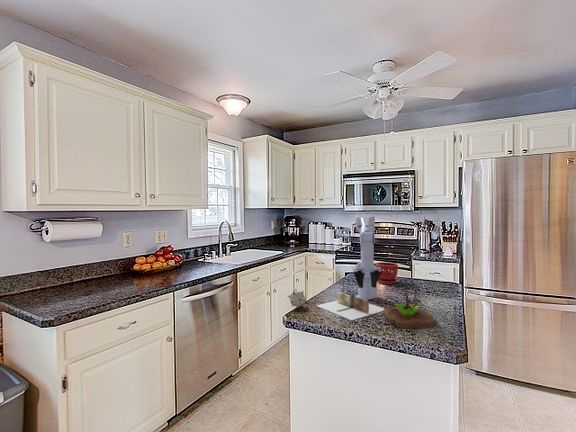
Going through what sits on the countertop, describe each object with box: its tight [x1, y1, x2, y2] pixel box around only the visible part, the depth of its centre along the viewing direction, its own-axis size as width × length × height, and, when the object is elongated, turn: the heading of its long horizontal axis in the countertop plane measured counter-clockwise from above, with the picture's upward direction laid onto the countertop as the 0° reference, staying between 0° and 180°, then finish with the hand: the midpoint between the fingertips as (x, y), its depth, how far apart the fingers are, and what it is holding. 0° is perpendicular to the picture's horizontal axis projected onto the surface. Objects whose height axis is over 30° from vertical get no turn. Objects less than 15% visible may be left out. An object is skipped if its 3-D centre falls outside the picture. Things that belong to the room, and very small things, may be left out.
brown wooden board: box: [354, 296, 370, 313], centre depth 140 cm, size 8×1×5 cm, turn 35°
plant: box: [382, 291, 437, 329], centre depth 131 cm, size 20×20×11 cm
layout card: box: [315, 299, 385, 322], centre depth 145 cm, size 23×23×1 cm
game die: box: [287, 288, 309, 310], centre depth 146 cm, size 9×8×10 cm
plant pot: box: [375, 261, 399, 285], centre depth 193 cm, size 13×13×12 cm
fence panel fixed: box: [337, 291, 355, 308], centre depth 148 cm, size 10×2×6 cm, turn 35°
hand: (367, 287), depth 142 cm, fingers open, 7 cm apart
